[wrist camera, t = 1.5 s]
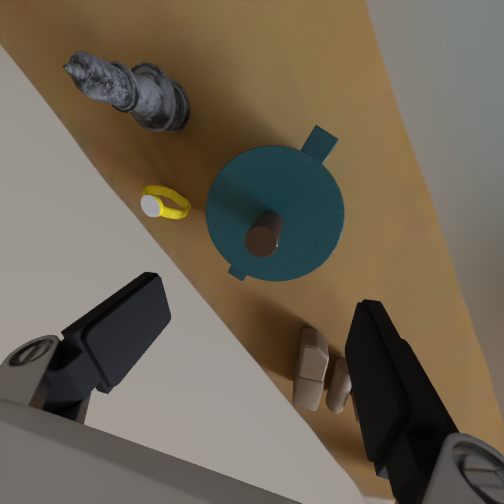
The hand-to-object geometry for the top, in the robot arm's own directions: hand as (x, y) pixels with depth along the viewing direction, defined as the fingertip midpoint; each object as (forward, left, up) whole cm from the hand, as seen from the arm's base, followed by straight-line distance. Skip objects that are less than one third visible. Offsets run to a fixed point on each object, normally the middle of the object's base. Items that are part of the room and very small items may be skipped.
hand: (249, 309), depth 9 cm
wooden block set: (+29, +13, -19) cm, 37 cm away
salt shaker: (-12, -14, -19) cm, 27 cm away
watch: (-1, -15, -19) cm, 25 cm away
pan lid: (0, -1, -13) cm, 13 cm away
